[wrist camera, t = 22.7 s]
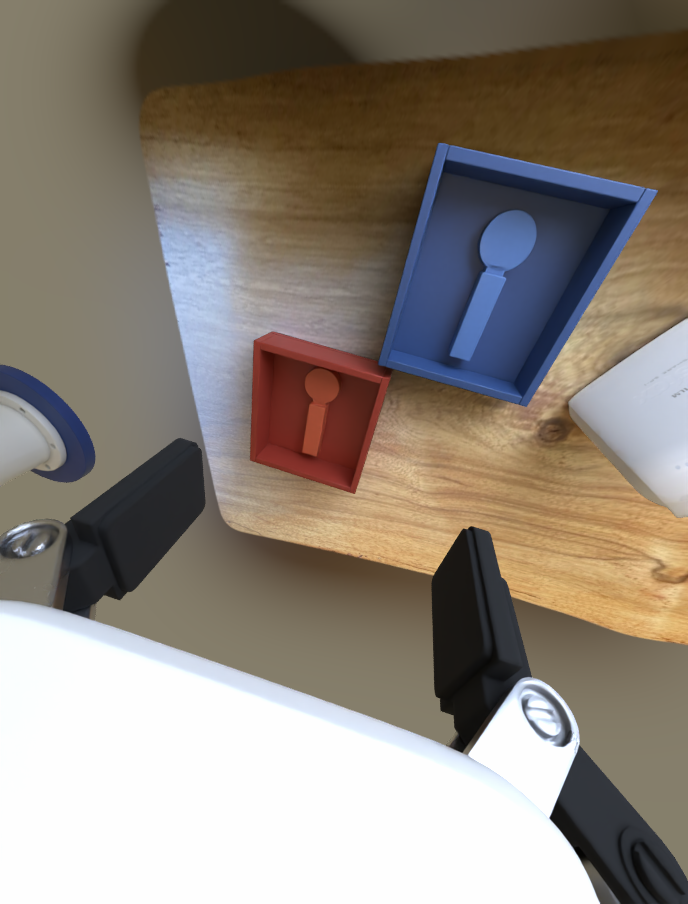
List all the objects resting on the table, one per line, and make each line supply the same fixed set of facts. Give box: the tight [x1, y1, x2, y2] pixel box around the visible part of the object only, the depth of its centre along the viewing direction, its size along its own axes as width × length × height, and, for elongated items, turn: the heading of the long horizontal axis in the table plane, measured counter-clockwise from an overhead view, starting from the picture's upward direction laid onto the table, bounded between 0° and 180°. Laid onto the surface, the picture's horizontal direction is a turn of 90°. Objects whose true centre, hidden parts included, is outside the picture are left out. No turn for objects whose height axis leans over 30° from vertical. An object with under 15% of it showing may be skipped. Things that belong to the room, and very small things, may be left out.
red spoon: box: [302, 366, 342, 457], centre depth 29 cm, size 9×3×1 cm, turn 168°
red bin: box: [250, 332, 393, 494], centre depth 29 cm, size 11×12×4 cm
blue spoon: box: [448, 210, 536, 361], centre depth 21 cm, size 9×3×1 cm, turn 168°
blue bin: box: [378, 143, 658, 407], centre depth 21 cm, size 11×12×4 cm
